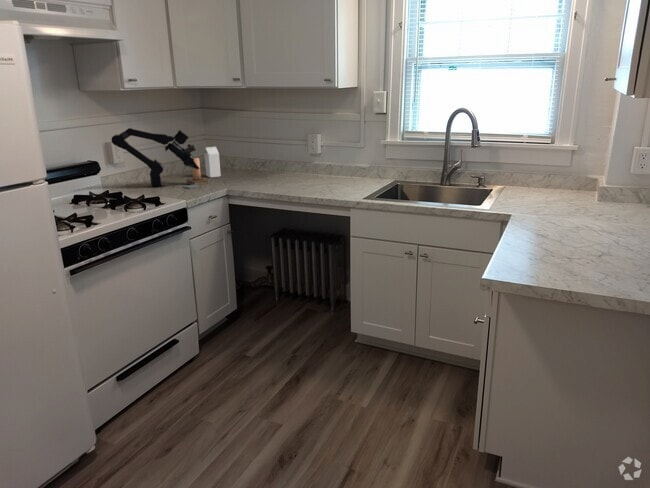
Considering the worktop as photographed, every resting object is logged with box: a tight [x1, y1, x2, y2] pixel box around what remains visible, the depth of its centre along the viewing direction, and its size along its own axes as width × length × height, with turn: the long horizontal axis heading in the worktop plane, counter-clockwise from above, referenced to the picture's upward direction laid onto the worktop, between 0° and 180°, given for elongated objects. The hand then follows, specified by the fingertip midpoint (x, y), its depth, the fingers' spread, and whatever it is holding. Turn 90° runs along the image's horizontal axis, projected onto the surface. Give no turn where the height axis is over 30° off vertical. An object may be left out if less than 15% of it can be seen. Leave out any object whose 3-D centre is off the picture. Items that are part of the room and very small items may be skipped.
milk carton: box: [203, 146, 222, 178], centre depth 321 cm, size 7×7×19 cm
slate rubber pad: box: [183, 184, 202, 190], centre depth 289 cm, size 7×7×1 cm
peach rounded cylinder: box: [191, 157, 202, 181], centre depth 297 cm, size 4×4×13 cm
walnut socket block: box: [186, 177, 209, 186], centre depth 300 cm, size 9×9×2 cm
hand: (198, 168), depth 297 cm, fingers closed on peach rounded cylinder, 4 cm apart
